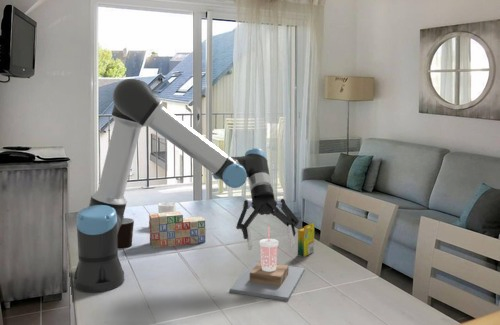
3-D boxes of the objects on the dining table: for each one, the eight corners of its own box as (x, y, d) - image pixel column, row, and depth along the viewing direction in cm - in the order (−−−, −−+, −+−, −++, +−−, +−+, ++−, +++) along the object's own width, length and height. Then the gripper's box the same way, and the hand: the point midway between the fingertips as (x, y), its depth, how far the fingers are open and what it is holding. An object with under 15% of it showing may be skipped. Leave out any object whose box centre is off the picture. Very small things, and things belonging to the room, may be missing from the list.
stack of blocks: (202, 238, 189) (201, 209, 188) (205, 242, 184) (205, 212, 182) (149, 243, 182) (148, 213, 181) (151, 248, 177) (150, 217, 175)
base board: (288, 301, 132) (288, 297, 132) (229, 292, 138) (229, 288, 138) (304, 271, 155) (304, 268, 155) (253, 264, 161) (253, 261, 160)
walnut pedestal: (280, 289, 140) (280, 276, 140) (249, 284, 143) (249, 272, 143) (288, 277, 150) (288, 265, 149) (258, 273, 153) (259, 261, 152)
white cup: (155, 227, 204) (154, 205, 202) (163, 222, 211) (163, 201, 210) (171, 228, 201) (171, 206, 200) (179, 224, 209) (178, 202, 207)
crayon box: (307, 250, 176) (308, 220, 174) (314, 252, 174) (315, 222, 172) (296, 255, 170) (297, 225, 168) (303, 257, 168) (304, 226, 166)
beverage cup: (278, 265, 149) (278, 223, 147) (278, 272, 143) (279, 229, 141) (259, 265, 149) (259, 223, 147) (259, 272, 143) (259, 229, 141)
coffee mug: (128, 250, 173) (127, 224, 172) (107, 248, 175) (106, 223, 174) (141, 240, 185) (141, 216, 183) (121, 239, 186) (121, 215, 185)
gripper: (294, 194, 160) (307, 249, 148) (223, 196, 155) (230, 254, 143) (299, 182, 154) (313, 238, 142) (226, 184, 149) (233, 243, 137)
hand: (271, 246), depth 142 cm, fingers open, 13 cm apart
